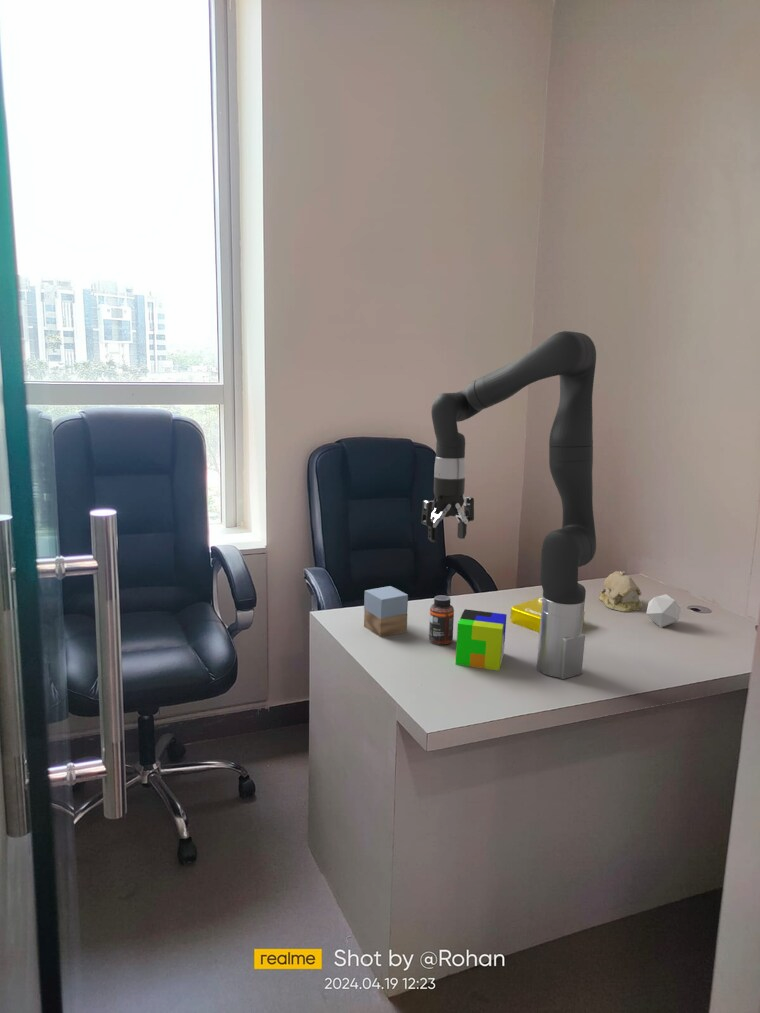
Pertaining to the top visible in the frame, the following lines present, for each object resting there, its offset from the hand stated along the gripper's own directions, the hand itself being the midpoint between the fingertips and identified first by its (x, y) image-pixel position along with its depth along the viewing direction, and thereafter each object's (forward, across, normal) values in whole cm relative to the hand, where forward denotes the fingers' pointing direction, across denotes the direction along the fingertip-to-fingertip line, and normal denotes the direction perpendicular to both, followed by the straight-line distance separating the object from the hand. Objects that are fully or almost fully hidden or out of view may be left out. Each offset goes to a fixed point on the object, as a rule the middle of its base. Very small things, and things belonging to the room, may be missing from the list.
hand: (447, 539), depth 180 cm
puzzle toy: (+25, -1, -16) cm, 30 cm away
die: (+26, +58, -20) cm, 66 cm away
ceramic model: (+25, +60, -3) cm, 65 cm away
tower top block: (+20, -12, +9) cm, 25 cm away
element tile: (+25, +30, -6) cm, 39 cm away
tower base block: (+25, -12, +9) cm, 29 cm away
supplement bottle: (+25, -4, -4) cm, 25 cm away
